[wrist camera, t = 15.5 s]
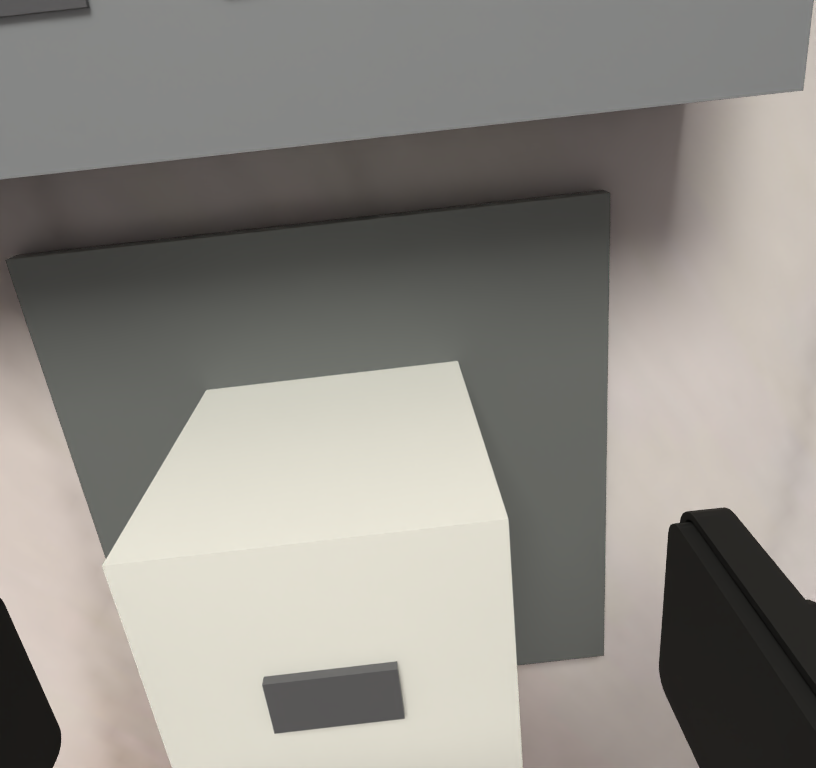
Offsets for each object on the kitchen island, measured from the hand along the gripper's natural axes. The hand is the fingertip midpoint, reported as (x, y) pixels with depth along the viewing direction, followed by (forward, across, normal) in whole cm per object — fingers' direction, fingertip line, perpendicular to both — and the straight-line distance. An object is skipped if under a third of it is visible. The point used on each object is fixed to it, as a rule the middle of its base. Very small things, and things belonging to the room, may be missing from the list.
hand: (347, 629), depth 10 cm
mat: (+5, 0, +1) cm, 5 cm away
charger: (+5, 0, +1) cm, 5 cm away
